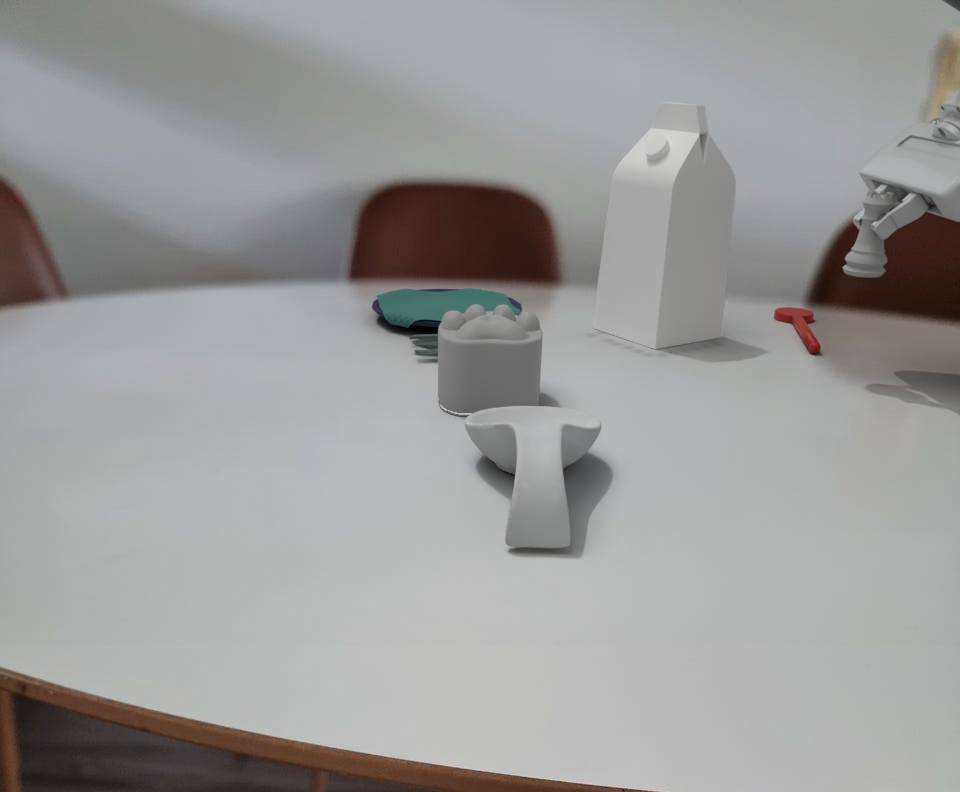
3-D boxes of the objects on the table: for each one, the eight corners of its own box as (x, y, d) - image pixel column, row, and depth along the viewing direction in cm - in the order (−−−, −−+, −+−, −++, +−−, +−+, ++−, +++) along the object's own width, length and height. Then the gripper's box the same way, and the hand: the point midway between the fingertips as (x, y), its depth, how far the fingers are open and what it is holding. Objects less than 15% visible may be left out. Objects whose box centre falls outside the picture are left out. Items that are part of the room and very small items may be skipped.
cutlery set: (506, 301, 139) (506, 284, 138) (554, 358, 114) (556, 339, 113) (366, 303, 136) (366, 286, 135) (385, 363, 111) (384, 342, 110)
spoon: (771, 313, 137) (773, 303, 136) (809, 315, 136) (811, 305, 135) (792, 353, 119) (794, 342, 118) (836, 356, 118) (838, 344, 117)
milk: (721, 337, 125) (756, 106, 111) (654, 349, 119) (683, 107, 105) (656, 317, 133) (681, 100, 119) (591, 327, 127) (610, 101, 114)
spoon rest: (464, 438, 90) (465, 361, 87) (590, 441, 91) (597, 364, 87) (460, 551, 70) (461, 457, 67) (622, 554, 70) (632, 460, 67)
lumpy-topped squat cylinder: (437, 416, 96) (437, 326, 91) (438, 377, 107) (438, 295, 102) (543, 417, 96) (548, 327, 92) (532, 378, 107) (536, 297, 103)
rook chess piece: (834, 269, 106) (850, 189, 102) (874, 269, 106) (891, 189, 102) (851, 278, 102) (868, 195, 98) (892, 278, 103) (911, 195, 98)
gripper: (917, 94, 105) (812, 192, 109) (1026, 107, 88) (896, 223, 92) (945, 141, 108) (841, 235, 112) (1056, 162, 91) (928, 272, 95)
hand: (866, 230), depth 102 cm, fingers closed on rook chess piece, 3 cm apart
